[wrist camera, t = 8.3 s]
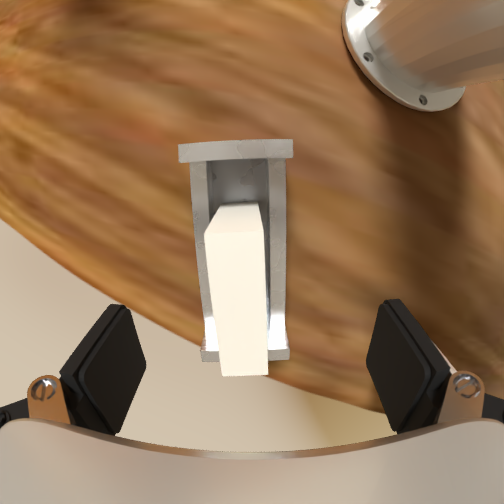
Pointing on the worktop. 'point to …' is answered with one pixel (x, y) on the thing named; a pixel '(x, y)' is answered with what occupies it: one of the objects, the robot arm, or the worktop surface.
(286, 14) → the worktop surface
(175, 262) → the worktop surface
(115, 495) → the robot arm
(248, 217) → the plain white block
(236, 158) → the track
